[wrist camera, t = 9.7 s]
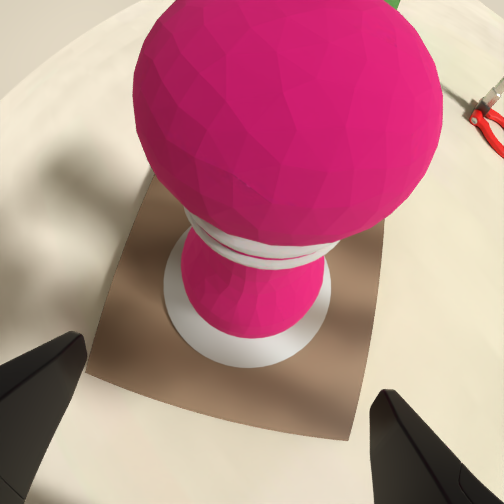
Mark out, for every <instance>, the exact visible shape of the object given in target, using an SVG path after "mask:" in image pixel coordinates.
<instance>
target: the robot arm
mask: <svg viewBox="0 0 504 504" xmlns="http://www.w3.org/2000/svg"><path fill="white" fill-rule="evenodd" d="M86 360H87V350H86V346H85V341H84V337H83V335H82V334H80V333H77V332H74V331H69V332H67V333H65V334H63V335H61V336H59V337H57V338H55V339H53V340H51V341H49V342H47V343H45V344H43V345H41V346H39V347H37V348H35V349H32V350H30V351H28V352H26V353H24V354H22V355H20V356H18V357H16V358H14V359H12V360H10V361H8V362H6V363H4V364H2V365H0V504H24V502H25V499H26V497H27V494H28V492H29V489H30V487H31V484H32V482H33V480H34V477H35V475H36V473H37V470H38V468H39V466H40V464H41V461H42V459H43V457H44V455H45V453H46V450H47V448H48V446H49V444H50V442H51V440H52V438H53V435H54V433H55V431H56V429H57V427H58V425H59V423H60V421H61V419H62V417H63V415H64V413H65V411H66V409H67V407H68V405H69V403H70V401H71V399H72V396H73V394H74V391H75V388H76V386H77V383H78V381H79V378H80V375H81V373H82V370H83V368H84V365H85V363H86ZM370 461H371V471H372V482H373V493H374V504H504V503H503V502H502V501H501V500H500V499H499V498H498V497H497V496H495V495H494V494H493V493H492V492H491V491H490V490H489V489H488V488H486V487H485V486H484V485H483V484H482V483H481V482H480V481H479V480H478V479H477V478H476V477H475V476H474V475H473V474H472V473H471V472H470V471H469V470H468V469H467V467H466V466H465V465H464V464H463V463H461V461H460V460H459V459H458V458H457V457H456V456H455V454H454V453H453V452H452V451H451V450H450V449H449V448H448V447H447V446H446V445H445V444H444V442H443V441H442V440H441V439H440V438H439V437H438V436H437V435H436V434H435V433H434V432H433V430H432V429H431V428H430V427H429V426H428V425H427V424H426V423H425V422H424V421H423V420H422V419H421V417H420V416H419V415H418V414H417V413H416V412H415V411H414V410H413V409H412V408H411V407H410V406H409V405H408V403H407V402H406V401H405V400H404V399H403V398H402V397H401V396H400V395H399V394H398V393H397V392H396V391H395V390H393V389H383V390H381V391H380V392H379V394H378V396H377V397H376V399H375V400H374V402H373V404H372V405H371V408H370Z"/></svg>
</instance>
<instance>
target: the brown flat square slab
mask: <svg viewBox="0 0 504 504" xmlns="http://www.w3.org/2000/svg"><path fill="white" fill-rule="evenodd" d="M384 220H385V218H384V219H383V220H382V221H380V222H379V223H377V224H376V225H374V226H373V227H372V228H370V229H367V230H365V231H362V232H360V233H357V234H354V235H352V236H349V237H347V238H344V239H341V240H340V241H339V242H338V243H337V245H336V246H335V247H334V248H333V249H331V250H330V251H329V252H328V253H327V254H325V255H324V261H325V264H324V275H323V283H322V286H321V289H320V292H319V295H318V296H317V298H316V300H315V302H314V303H313V305H312V306H311V308H310V309H309V310H308V312H307V313H306V314H305V315H304V317H303V318H302V319H301V320H299V321H298V322H297V323H296V324H295V325H294V326H292V327H290V328H289V329H287V330H286V331H284V332H281V333H279V334H276V335H274V336H270V337H265V338H256V339H248V338H239V337H235V336H231V335H228V334H226V333H224V332H221V331H219V330H217V329H216V328H214V327H213V326H211V325H209V324H208V323H207V322H206V321H205V320H204V319H203V318H202V317H201V316H200V315H198V313H197V312H196V310H195V309H194V307H193V306H192V304H191V303H190V301H189V299H188V296H187V294H186V292H185V288H184V284H183V280H182V273H181V255H182V251H183V247H184V243H185V240H186V238H187V235H188V233H189V231H190V229H191V227H192V225H191V223H190V222H189V220H188V218H187V215H186V213H185V210H184V207H183V205H182V204H181V203H180V202H179V201H178V200H177V199H176V198H175V197H174V195H173V194H172V193H171V192H170V191H169V190H168V189H167V188H166V187H165V186H164V185H163V184H162V183H161V182H160V181H159V180H158V179H157V177H156V175H154V177H153V179H152V181H151V184H150V186H149V188H148V190H147V193H146V195H145V197H144V200H143V202H142V204H141V207H140V209H139V212H138V214H137V217H136V219H135V221H134V224H133V226H132V229H131V232H130V234H129V237H128V239H127V242H126V244H125V247H124V250H123V252H122V255H121V258H120V261H119V263H118V266H117V269H116V272H115V275H114V278H113V280H112V283H111V286H110V289H109V292H108V295H107V298H106V302H105V305H104V308H103V311H102V314H101V317H100V321H99V324H98V327H97V331H96V334H95V338H94V341H93V345H92V349H91V352H90V356H89V360H88V364H87V367H86V371H85V373H88V374H90V375H92V376H95V377H97V378H99V379H102V380H104V381H107V382H109V383H112V384H114V385H117V386H119V387H122V388H124V389H127V390H130V391H132V392H135V393H138V394H141V395H143V396H146V397H149V398H152V399H155V400H158V401H161V402H164V403H167V404H170V405H173V406H177V407H180V408H183V409H187V410H190V411H193V412H197V413H201V414H204V415H208V416H212V417H215V418H219V419H223V420H227V421H231V422H236V423H240V424H244V425H249V426H254V427H258V428H263V429H268V430H274V431H279V432H285V433H291V434H297V435H303V436H310V437H317V438H325V439H333V440H343V441H348V440H349V436H350V432H351V429H352V425H353V421H354V417H355V413H356V409H357V404H358V400H359V396H360V391H361V387H362V382H363V377H364V373H365V368H366V362H367V357H368V352H369V346H370V341H371V335H372V329H373V322H374V316H375V309H376V301H377V294H378V286H379V277H380V268H381V258H382V247H383V235H384Z"/></svg>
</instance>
